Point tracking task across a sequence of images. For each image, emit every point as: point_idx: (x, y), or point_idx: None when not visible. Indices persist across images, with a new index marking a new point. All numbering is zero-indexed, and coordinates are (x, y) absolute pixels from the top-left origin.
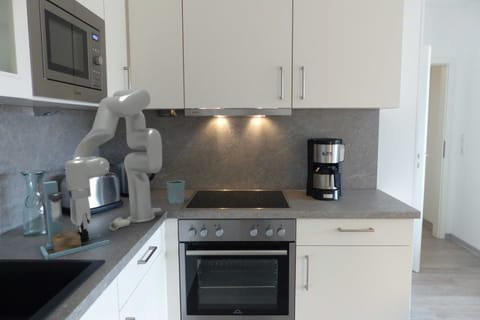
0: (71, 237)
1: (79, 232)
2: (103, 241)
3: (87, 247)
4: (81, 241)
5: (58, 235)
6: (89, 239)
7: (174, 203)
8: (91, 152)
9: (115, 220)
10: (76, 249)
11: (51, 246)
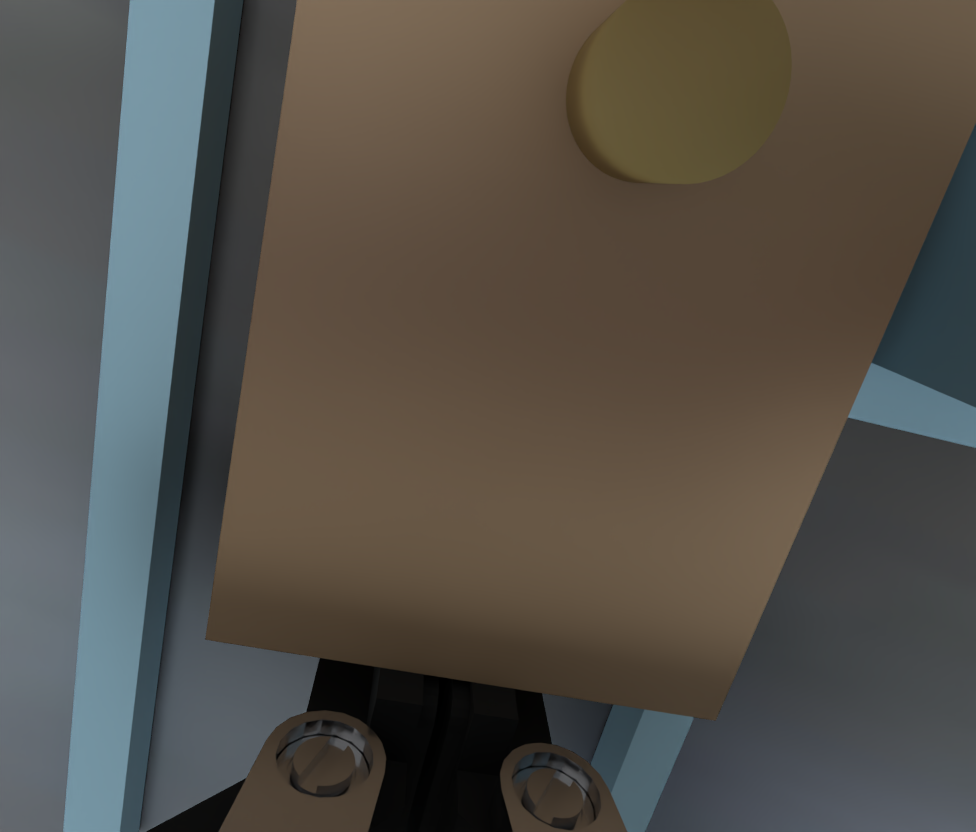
0: (244, 390)
1: (375, 717)
2: (92, 810)
3: (104, 520)
4: None
5: (607, 34)
6: (604, 735)
7: None
8: None
9: None
10: (114, 315)
11: None
